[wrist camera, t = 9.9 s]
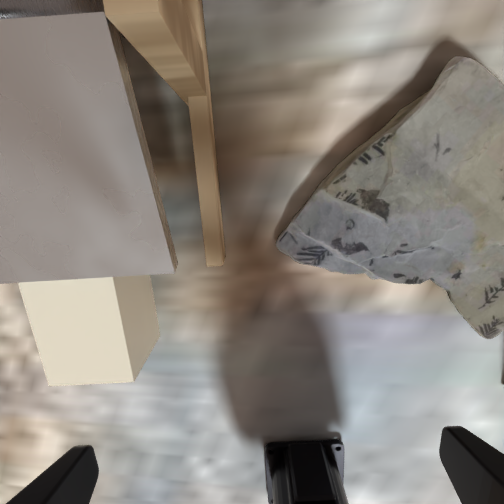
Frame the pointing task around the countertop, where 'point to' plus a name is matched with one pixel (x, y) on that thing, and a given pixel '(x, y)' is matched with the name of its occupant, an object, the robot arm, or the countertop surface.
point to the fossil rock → (421, 199)
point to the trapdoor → (73, 151)
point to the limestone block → (92, 327)
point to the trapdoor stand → (181, 88)
